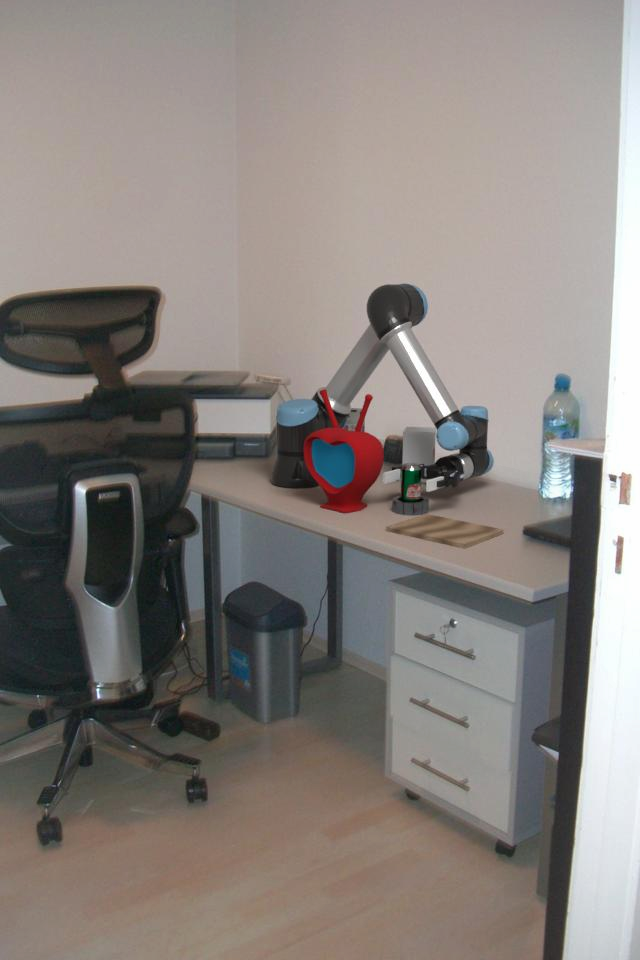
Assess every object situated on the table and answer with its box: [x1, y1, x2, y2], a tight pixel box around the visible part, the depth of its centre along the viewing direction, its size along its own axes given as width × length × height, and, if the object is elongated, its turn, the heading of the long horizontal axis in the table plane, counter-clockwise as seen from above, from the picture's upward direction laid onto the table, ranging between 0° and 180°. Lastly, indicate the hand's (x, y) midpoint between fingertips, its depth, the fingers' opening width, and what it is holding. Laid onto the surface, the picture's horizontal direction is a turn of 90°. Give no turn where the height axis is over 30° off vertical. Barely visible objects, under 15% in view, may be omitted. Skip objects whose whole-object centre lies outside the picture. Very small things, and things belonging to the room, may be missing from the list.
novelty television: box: [303, 389, 385, 514], centre depth 243 cm, size 21×13×30 cm, turn 46°
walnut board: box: [385, 513, 504, 549], centre depth 222 cm, size 22×16×1 cm
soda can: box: [400, 463, 422, 503], centre depth 241 cm, size 5×5×12 cm
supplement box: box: [401, 426, 437, 484], centre depth 276 cm, size 9×9×15 cm
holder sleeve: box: [391, 495, 430, 516], centre depth 242 cm, size 9×9×3 cm
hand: (405, 482), depth 238 cm, fingers open, 13 cm apart
